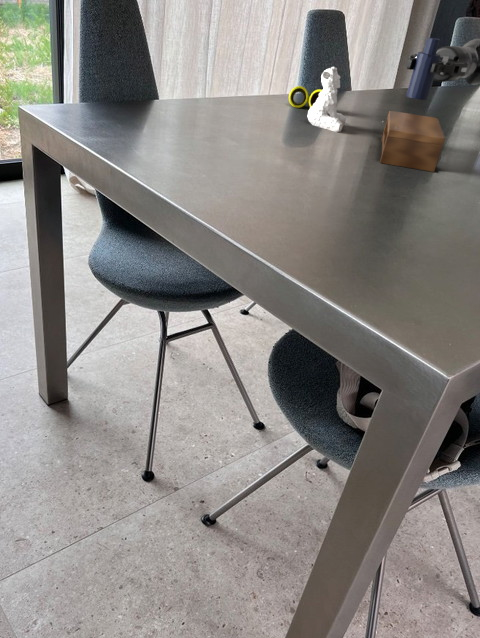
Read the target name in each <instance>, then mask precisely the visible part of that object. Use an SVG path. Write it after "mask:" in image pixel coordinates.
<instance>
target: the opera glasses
mask: <svg viewBox="0 0 480 638" xmlns="http://www.w3.org/2000/svg"><path fill="white" fill-rule="evenodd" d="M322 90H323V89H318V88H317V89H315V90H314V91H313V92H311V93H310V96H309V92H308V90H307V88H306V87H304V86H302V85H296V86H295V87H293V88H292V89H291V90H290V92H289V94H288V102H289V104H290V105H291V106H292V107H293V108H295V109H301V108H303V107H304V106H305V105H307V103H308V106H309V109H310V108H311V106H313V104H314V103H315V102H316V100H317V99H318V97H319V93H320V92H321V91H322ZM298 93H301V94H302V95H303V100H302V101H301V102H299V103H298V102H296V101H295V99H294V98H295V95H296V94H298Z"/></svg>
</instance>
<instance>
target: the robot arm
mask: <svg viewBox="0 0 480 638" xmlns="http://www.w3.org/2000/svg"><path fill="white" fill-rule="evenodd" d="M436 54H438V55H441V57H440V60H439V62H434V63H433V64H432V68H431V71H430V74H435V77H434V80H433V81H435V82H438V83H447V82H453V81H458V80H459V79H460V80H461V79H464V80H465V82H466V83H467V84H468V85H472V86H475V85H479V84H480V38H474V39H471V40H469V41H468V42H466V43H465V44H463V45H462V46H461V45H447V46H441V47H438V49H437V52H436ZM417 55H418V53H414V54H410V55H408V57H407V61H406V64H405V68H406V69H407V70H410V71H413V69H414V66H415V62H416V58H417Z"/></svg>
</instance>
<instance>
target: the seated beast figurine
mask: <svg viewBox="0 0 480 638" xmlns="http://www.w3.org/2000/svg"><path fill="white" fill-rule="evenodd" d="M338 72H339V71H338V67H335V66H331V67H328V68H326V69H325V70H323V72H322V73H321V76H320V78H321V81H320V82H321V86H322V88H323V89H321V90H322V91H321V92H320V93H319V97H318V99H317V100H316V102H315V103H314V104H313V106H311V108H310V107H309V109H308V111H307V115H306V116H307V117H306V118H307V121H308V122H309V123H310V124H311V125H312V126H314V127H316V128H317V127H318V128H321V129H325V130H328V131H330V132H331V131H332V132H335V133H341V132H342V130H343V127H344V126H345V124H346V121H347V117H346V116H345V115H343V114H342V113H340V112H338V108H337V107H338V89H340V88H341V80H340V79H341V76H340V75H339V73H338Z"/></svg>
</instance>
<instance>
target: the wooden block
mask: <svg viewBox="0 0 480 638" xmlns="http://www.w3.org/2000/svg"><path fill="white" fill-rule="evenodd" d="M445 141H446V137H445V133H444V131H443V129H442V126H441V123H440V121H439V118H438V117H434V116H433V117H432V116H427V115H420V114H414V113H407V112H401V111H394V110H389V111H388V114H387V118H386V122H385V125H384V129H383V133H382V136H381V141H380V142H381V143H382V145H381V155H380V159H379V164H385V165H390V166H396V167H403V168H408V169H414V170H419V171H426V172H432V173H435V170H436V167H437V165H438V162H439V158H440V155H441V152H442V151H443V150H442V149H443V146H444V143H445Z"/></svg>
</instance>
